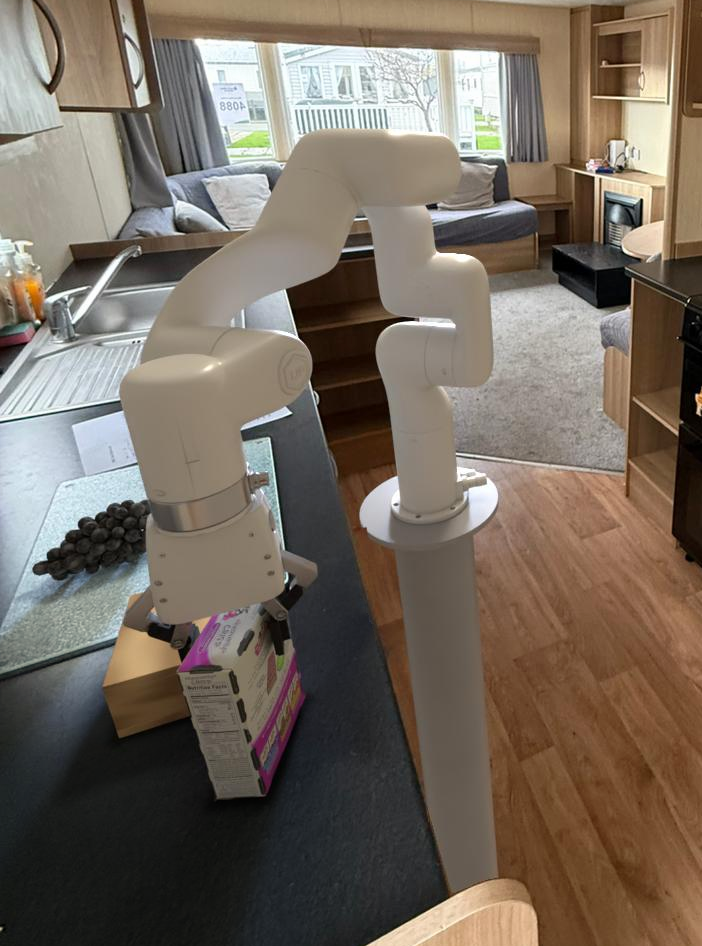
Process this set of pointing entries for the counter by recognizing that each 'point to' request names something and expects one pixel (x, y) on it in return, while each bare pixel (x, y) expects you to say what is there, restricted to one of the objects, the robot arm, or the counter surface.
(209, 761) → the candy bar box
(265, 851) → the counter surface
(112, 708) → the wooden block
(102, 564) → the fruit
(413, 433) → the robot arm
